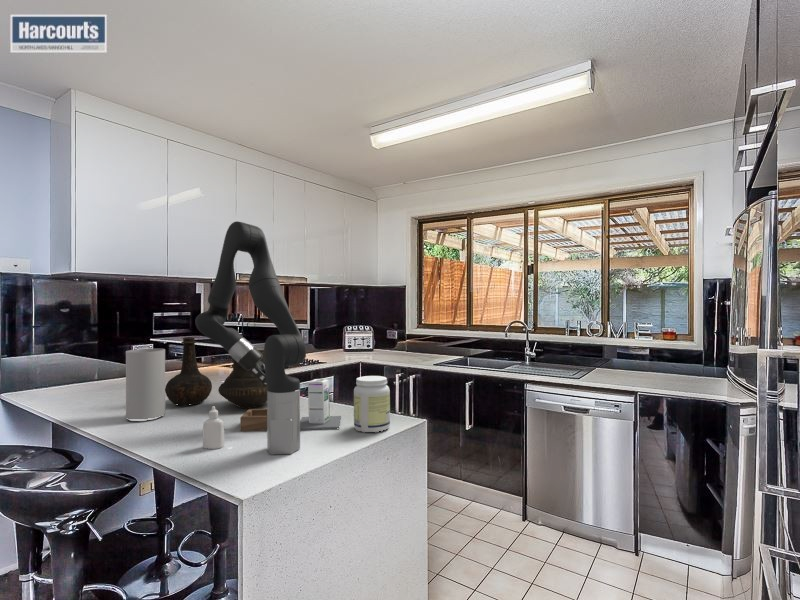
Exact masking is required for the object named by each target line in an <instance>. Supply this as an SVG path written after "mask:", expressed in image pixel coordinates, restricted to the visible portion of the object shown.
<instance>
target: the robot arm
mask: <svg viewBox="0 0 800 600" xmlns="http://www.w3.org/2000/svg"><path fill="white" fill-rule="evenodd" d="M222 245H223V246H222V249H221V254H220V257H219V264H218V268H217V272H216V275H215V279H214V280H213V281H214V282H213V283H212V287H211V288H210V291H209V294H208V296H207V303H208V304H209V308H208V310H207V311H204V312H201V313H199V314H198V315H197V316H196V317H195V320H194V321H195V326H196V329H197V330H198V331H199V332H200V333H201V334H202V335H203V336H205V337H206V338H208V339H210V340H212V341H213V342H215V343H217V344H218V345H220V346H221V347H222V348H223V350H225V351H226V352H227V353H228V354H229V355H230V357H231V359H232V358H233V359H234V360H235V361H236V362H237V363H239V364H240V365H241V366H242V367H243V368H244V369H245V370H246V371H249V370H250V369H253V370H252V371H251V373H252V374H253V375H254V376H255V377H256V378H257V379H258V380H259V381H260V382H261V383H262V384H267V402H266V409H267V430H266V433H267V434H266V435H267V436H266V437H267V438H266V439H267V440H266V441H267V443H266V446H267V447H266V449H267V452H268V453H269V455H291V454H293V453H294V452H298V450H300V448H301V430H300V420H301V382H300V379H299V378H297V377H294V376H290V375H287V374H286V371H285V370H286V368H285V367H289V366H290V367H291V366H296V365H300V364H302V363H304V361H305V360H306V357H307V347H306V343H305V340H304V337H303V336H302V334H301V331H300V330H299V327H298V326H297V323H296V321H295V319H294V317H293V315H292V314H291V313H292V312H291V311H290V310H291V309H290V308H289V306H288V303H287V301H286V298H285V295H284V292H283V288H282V287H281V283H280V281H279V279H278V276H277V274H276V271H275V268H274V265H273V261H272V258H271V255H270V251H269V246H268V243H267V239H266V236H265V233H264V231H263V230H262V228H260V227H259V226H256V225H253V224H249V223H245V222H242V221H233V222H231V224H230V225H229V226H228V228H227V231H226V233H225V236H224V239H223V244H222ZM238 251H240V252H244V253H246V254H247V253H248V254H249V255H250V257H251V260H252V264H253V269H252V272H251V273H250V276H249V278H248V289H249V293H250V296H251V298H252V301H253V304H254V306H255V307H256V308H257V309H258V310H259V311H260V313H262V314H263V315H264V316H265V317H266V319H268V320H269V321H271V322H272V323H273V324H274V325H275V327H276V328H277V330H278V332H279V334H272V335H270V336H268V337H267V338H266V340H265V342H264V346H263V350H264V362H261V361H260V360H261V359H262V357H263V355H262V354H261V353H260V352H259V351H258V350H259V349H258V350H257V348H256V347H255V346H254V344H252V343H251V341H248V340H247V339H246V338H245V337H244V336H242V335H241V334H240V332H239V331H238V330H236V329H235V328H233V327H226V326H225V325H224V324H225V322H226V320H227V318H228V313H229V305H230V304H231V301H232V298H233V296H234V293H235V292H236V291H235V290H236V287H237V278H236V273H235V268H234V267H235V264H234V262H235V258H236V255H237V254H238ZM233 359H232V360H233ZM261 376H262V377H261Z"/></svg>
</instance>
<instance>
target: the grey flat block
mask: <svg viewBox="0 0 800 600" xmlns="http://www.w3.org/2000/svg"><path fill="white" fill-rule="evenodd" d="M340 420H342V416H341V415H330V419H329V420H328V421H327V422H325V424H313V423H309V416H301V417H300V431H321V430H322V429H331V430H338V429H337V428H339V429H340V427H341V426H340V425H341V421H340ZM339 426H340V427H339ZM322 431H323V430H322Z"/></svg>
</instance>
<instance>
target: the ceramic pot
mask: <svg viewBox="0 0 800 600" xmlns="http://www.w3.org/2000/svg"><path fill="white" fill-rule="evenodd" d="M256 349H257V348H256ZM257 350H258V351H259V352H260V353H261V354H262V355H263V357H262V359H261V360H260V361H261V362H264V349H257ZM231 359H232V371H231V373H230V374H229V375H228V376H227V377H226V378H225V379H224V381H223V382H222V383H221V384H220V385H219V387H218V394H219V395H220V396H221V397H223V398H225V400H226V401H228V402H229V403H232V404H233V405H235V406H237V407H239V408H243V407H244V409H245V408H246V409H248V408H249V409H253V408H257V407H261V406H262V405H263V404H264V405H265V404H266V403H267V384H262V383H261V382H260V381H259V380H258V379H257V378H256V377H255V376H254V375H253V374H252V373H251V371H252V370H253V369H250V370H249V371H246V370H245V369H244V368H243V367H242V366H241V365H240V364H239V363H237V362H236V361H235V360H234V359H233V358H232V357H231ZM261 377H262V376H261Z"/></svg>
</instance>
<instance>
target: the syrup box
mask: <svg viewBox="0 0 800 600" xmlns="http://www.w3.org/2000/svg"><path fill="white" fill-rule="evenodd" d="M307 388H308V389H307V392H308V397H307V398H308V399H307V400H308V401H307V402H308V417H309V423H313V424H325V422H327V421H328V420H329V419H330V416H331V414H330V413H331V410H330V409H331V408H330V406H331V405H330V379H328V378H327V379H326V378H314V379H312V380H310V381H308V382H307Z"/></svg>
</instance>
